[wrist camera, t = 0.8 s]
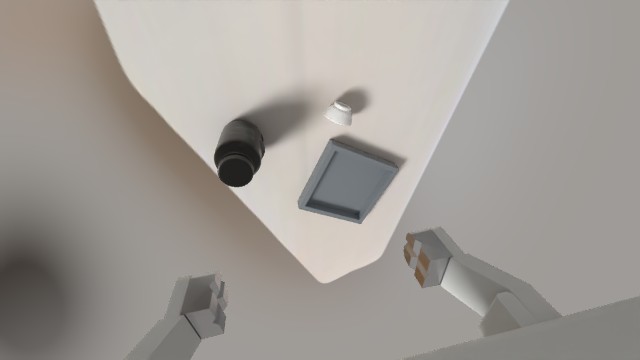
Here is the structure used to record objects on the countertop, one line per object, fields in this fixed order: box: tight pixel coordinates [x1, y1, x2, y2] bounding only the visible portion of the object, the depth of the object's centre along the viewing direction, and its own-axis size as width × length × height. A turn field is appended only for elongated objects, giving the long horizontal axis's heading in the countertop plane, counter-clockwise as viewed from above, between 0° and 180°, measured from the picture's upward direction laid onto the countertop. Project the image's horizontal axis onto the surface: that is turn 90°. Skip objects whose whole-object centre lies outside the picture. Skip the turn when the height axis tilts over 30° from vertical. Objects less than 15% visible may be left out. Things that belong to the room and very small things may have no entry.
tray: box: [298, 139, 399, 224], centre depth 53 cm, size 16×16×2 cm
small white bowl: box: [324, 101, 352, 126], centre depth 43 cm, size 5×3×5 cm, turn 68°
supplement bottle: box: [214, 120, 262, 187], centre depth 39 cm, size 7×7×12 cm
